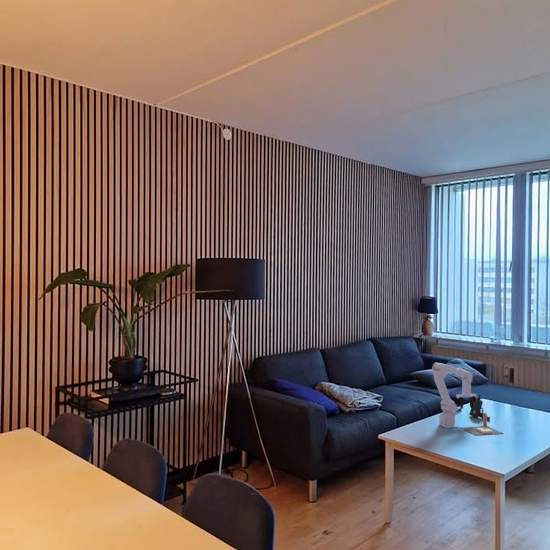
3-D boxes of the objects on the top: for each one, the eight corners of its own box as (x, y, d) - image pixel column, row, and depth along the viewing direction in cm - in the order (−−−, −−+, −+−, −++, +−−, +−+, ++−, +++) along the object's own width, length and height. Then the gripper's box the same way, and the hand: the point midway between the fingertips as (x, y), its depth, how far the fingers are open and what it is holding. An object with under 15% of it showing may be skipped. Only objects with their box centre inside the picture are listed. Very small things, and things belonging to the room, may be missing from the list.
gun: (492, 402, 339) (473, 393, 351) (486, 424, 342) (468, 414, 354) (494, 402, 340) (476, 392, 352) (488, 423, 344) (470, 413, 356)
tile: (476, 430, 319) (483, 433, 312) (476, 428, 319) (483, 431, 312) (485, 429, 321) (492, 432, 314) (485, 427, 321) (492, 430, 314)
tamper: (483, 428, 323) (483, 414, 323) (480, 426, 327) (481, 412, 327) (488, 428, 324) (489, 413, 324) (485, 426, 327) (485, 412, 327)
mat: (475, 435, 309) (475, 435, 309) (460, 428, 325) (460, 427, 325) (503, 433, 314) (503, 433, 314) (487, 426, 329) (487, 425, 329)
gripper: (460, 390, 332) (460, 409, 332) (479, 389, 335) (479, 408, 335) (454, 387, 339) (454, 407, 339) (473, 387, 342) (472, 406, 342)
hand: (466, 407), depth 337 cm, fingers open, 7 cm apart
